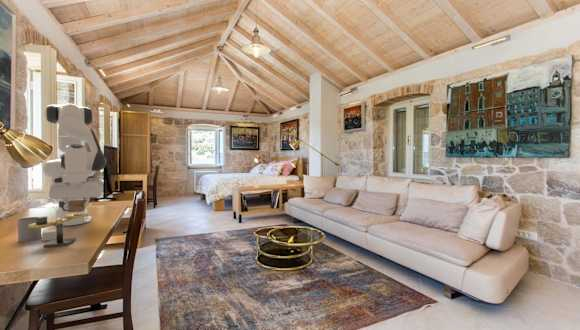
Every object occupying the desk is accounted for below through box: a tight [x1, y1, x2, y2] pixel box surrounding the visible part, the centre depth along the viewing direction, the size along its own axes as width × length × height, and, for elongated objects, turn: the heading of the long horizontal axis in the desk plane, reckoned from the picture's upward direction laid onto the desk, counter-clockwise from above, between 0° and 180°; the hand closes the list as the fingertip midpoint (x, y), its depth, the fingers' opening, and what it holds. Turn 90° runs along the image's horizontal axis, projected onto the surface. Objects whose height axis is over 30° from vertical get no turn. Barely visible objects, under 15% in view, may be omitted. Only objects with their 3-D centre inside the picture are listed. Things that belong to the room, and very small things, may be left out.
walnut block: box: [68, 198, 86, 212], centre depth 132 cm, size 5×5×5 cm
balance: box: [28, 212, 90, 249], centre depth 130 cm, size 9×22×14 cm, turn 110°
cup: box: [17, 216, 42, 242], centre depth 138 cm, size 8×8×10 cm
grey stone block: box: [41, 228, 57, 242], centre depth 138 cm, size 5×5×4 cm
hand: (76, 207), depth 132 cm, fingers closed on walnut block, 5 cm apart
